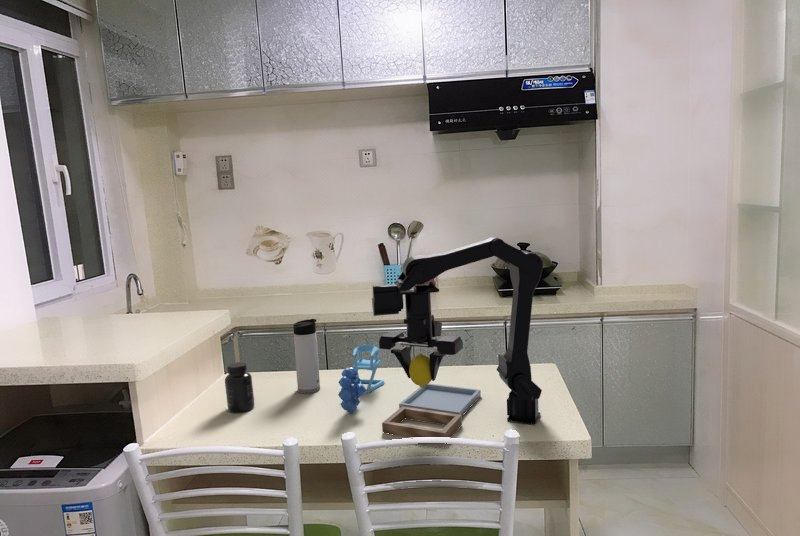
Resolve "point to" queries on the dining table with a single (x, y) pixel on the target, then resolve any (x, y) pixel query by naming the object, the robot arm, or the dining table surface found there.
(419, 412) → the holder
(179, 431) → the dining table surface
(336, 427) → the dining table surface
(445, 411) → the tray
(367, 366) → the chair
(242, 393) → the supplement bottle
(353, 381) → the grapes
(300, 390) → the travel mug
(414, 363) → the lemon
